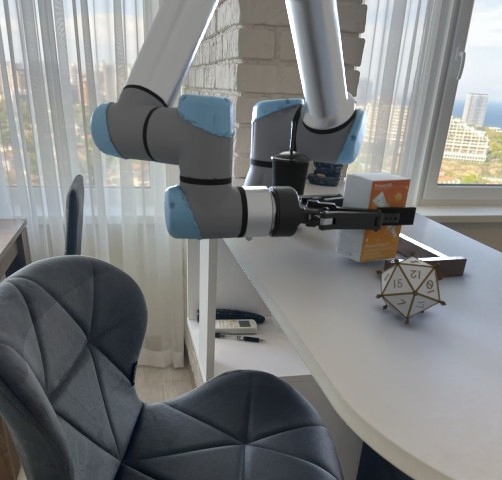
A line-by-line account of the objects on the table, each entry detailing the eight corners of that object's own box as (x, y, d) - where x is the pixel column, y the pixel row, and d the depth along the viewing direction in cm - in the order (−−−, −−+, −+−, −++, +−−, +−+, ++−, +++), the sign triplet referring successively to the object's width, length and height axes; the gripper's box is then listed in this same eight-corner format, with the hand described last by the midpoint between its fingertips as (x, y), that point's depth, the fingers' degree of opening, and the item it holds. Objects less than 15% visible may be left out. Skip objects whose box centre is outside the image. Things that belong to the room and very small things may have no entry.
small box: (359, 264, 81) (372, 180, 75) (335, 252, 86) (345, 173, 80) (396, 258, 84) (412, 178, 79) (371, 247, 89) (383, 171, 83)
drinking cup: (277, 221, 107) (285, 119, 98) (310, 227, 104) (321, 122, 95) (259, 228, 101) (265, 120, 92) (293, 235, 98) (303, 123, 89)
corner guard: (337, 247, 92) (339, 232, 91) (403, 244, 96) (406, 230, 95) (386, 280, 77) (389, 262, 76) (463, 275, 81) (467, 258, 80)
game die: (391, 334, 68) (397, 265, 70) (454, 333, 63) (459, 257, 65) (357, 318, 62) (365, 241, 64) (425, 314, 56) (431, 230, 58)
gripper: (248, 220, 87) (366, 217, 93) (289, 256, 70) (431, 250, 76) (250, 175, 84) (372, 176, 90) (294, 201, 66) (442, 199, 73)
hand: (399, 210), depth 83 cm, fingers closed on small box, 7 cm apart
